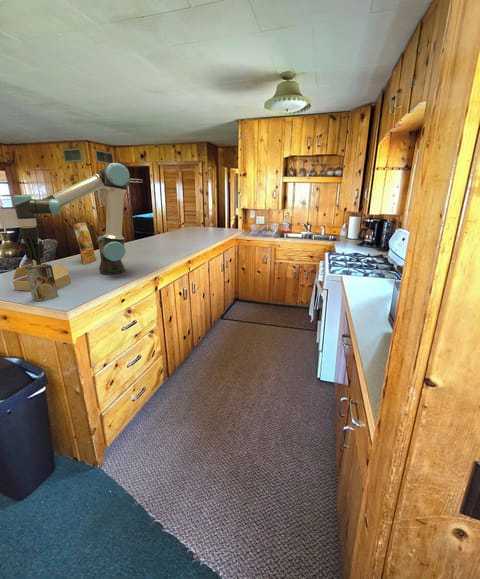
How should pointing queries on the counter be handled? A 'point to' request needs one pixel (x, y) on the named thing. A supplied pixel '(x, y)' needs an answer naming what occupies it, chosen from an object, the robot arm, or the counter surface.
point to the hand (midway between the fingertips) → (38, 271)
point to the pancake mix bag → (84, 242)
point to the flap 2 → (59, 271)
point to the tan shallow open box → (24, 285)
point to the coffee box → (41, 282)
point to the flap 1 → (20, 272)
